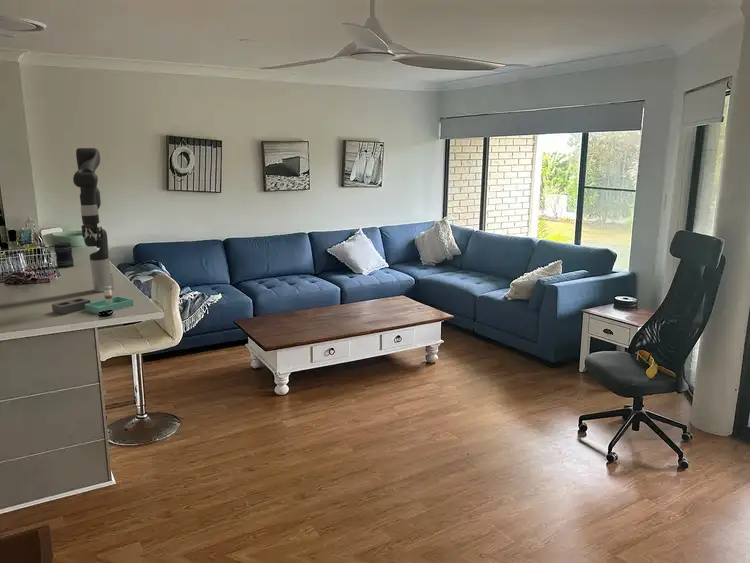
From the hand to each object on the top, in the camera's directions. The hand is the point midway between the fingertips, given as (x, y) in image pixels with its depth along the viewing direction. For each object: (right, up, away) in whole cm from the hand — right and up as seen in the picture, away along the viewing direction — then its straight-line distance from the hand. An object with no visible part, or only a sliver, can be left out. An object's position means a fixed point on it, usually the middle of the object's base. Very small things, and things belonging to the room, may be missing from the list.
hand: (94, 246), depth 296 cm
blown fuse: (+10, -29, -5) cm, 31 cm away
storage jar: (-62, -8, +93) cm, 112 cm away
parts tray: (+10, -30, -4) cm, 32 cm away
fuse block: (-7, -31, -7) cm, 32 cm away
